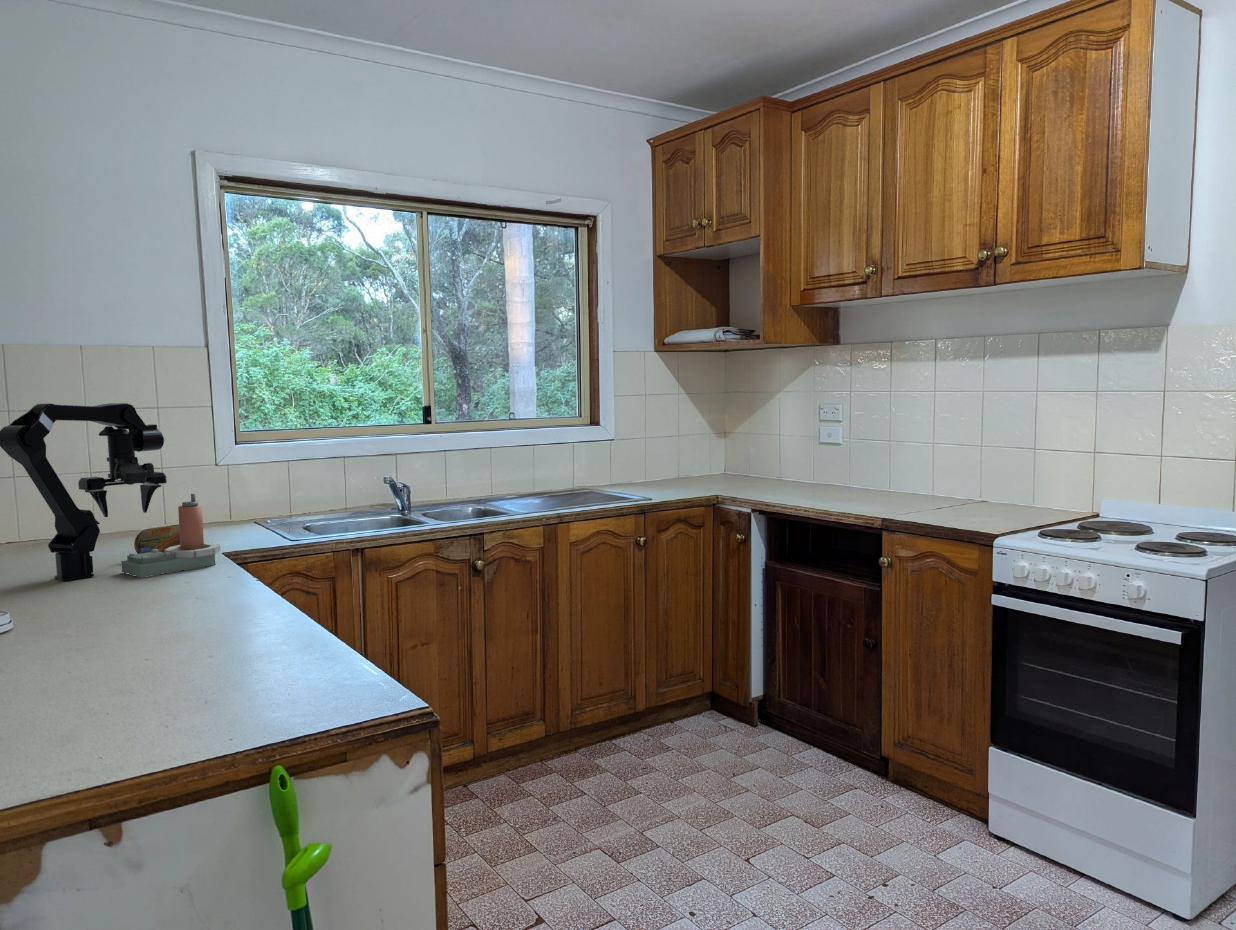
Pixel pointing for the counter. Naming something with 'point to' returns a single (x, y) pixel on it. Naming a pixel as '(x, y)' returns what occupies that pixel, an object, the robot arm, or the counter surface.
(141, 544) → the tin
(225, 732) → the counter surface
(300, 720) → the counter surface
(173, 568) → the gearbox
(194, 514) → the oil can
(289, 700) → the counter surface
